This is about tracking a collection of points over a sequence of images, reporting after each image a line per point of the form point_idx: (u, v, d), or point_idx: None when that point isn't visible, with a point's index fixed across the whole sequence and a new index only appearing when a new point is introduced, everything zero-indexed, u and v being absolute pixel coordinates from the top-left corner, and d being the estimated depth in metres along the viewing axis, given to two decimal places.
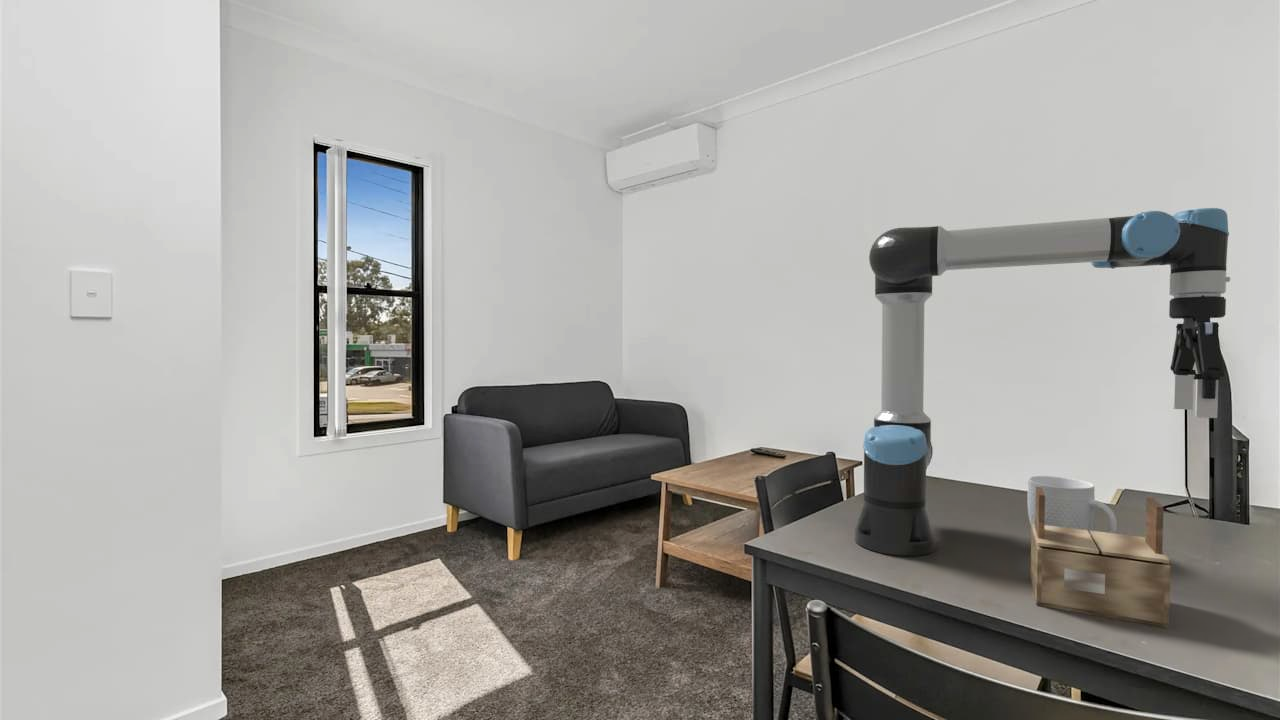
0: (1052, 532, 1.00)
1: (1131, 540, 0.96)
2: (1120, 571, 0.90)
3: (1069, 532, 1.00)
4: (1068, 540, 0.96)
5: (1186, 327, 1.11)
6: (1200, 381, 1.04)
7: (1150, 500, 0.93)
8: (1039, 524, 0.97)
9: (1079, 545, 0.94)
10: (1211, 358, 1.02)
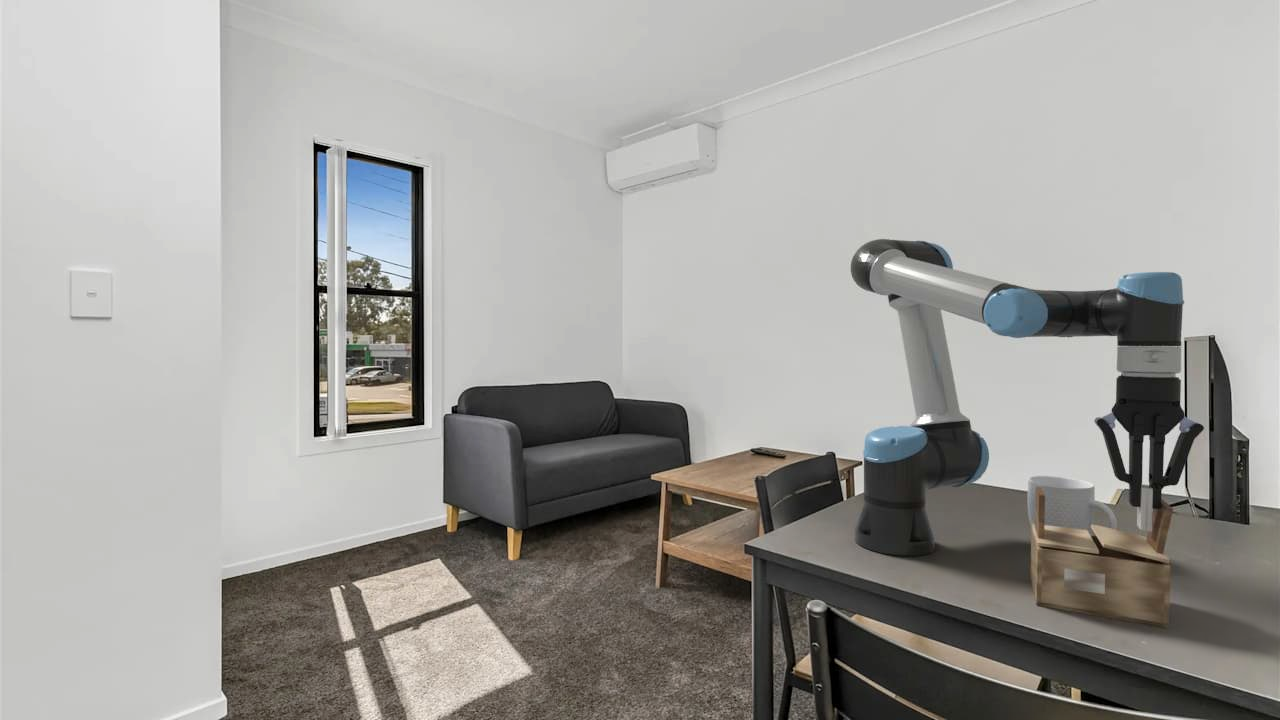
0: (1052, 532, 1.00)
1: (1132, 537, 0.96)
2: (1120, 571, 0.90)
3: (1069, 532, 1.00)
4: (1068, 540, 0.96)
5: None
6: None
7: None
8: (1039, 524, 0.97)
9: (1079, 545, 0.94)
10: (1111, 460, 0.95)
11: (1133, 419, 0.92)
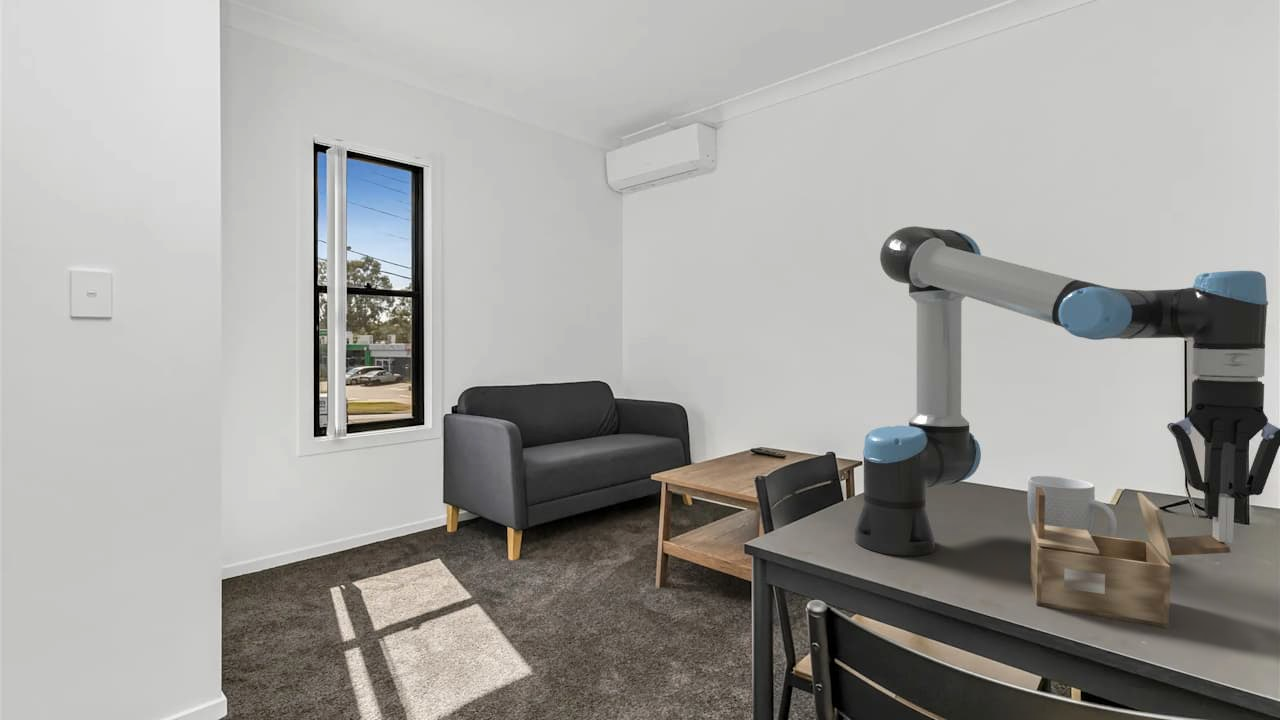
0: (1052, 532, 1.00)
1: None
2: (1120, 571, 0.90)
3: (1069, 532, 1.00)
4: (1068, 540, 0.96)
5: None
6: None
7: None
8: (1039, 524, 0.97)
9: (1079, 545, 0.94)
10: (1185, 468, 0.90)
11: (1211, 426, 0.88)
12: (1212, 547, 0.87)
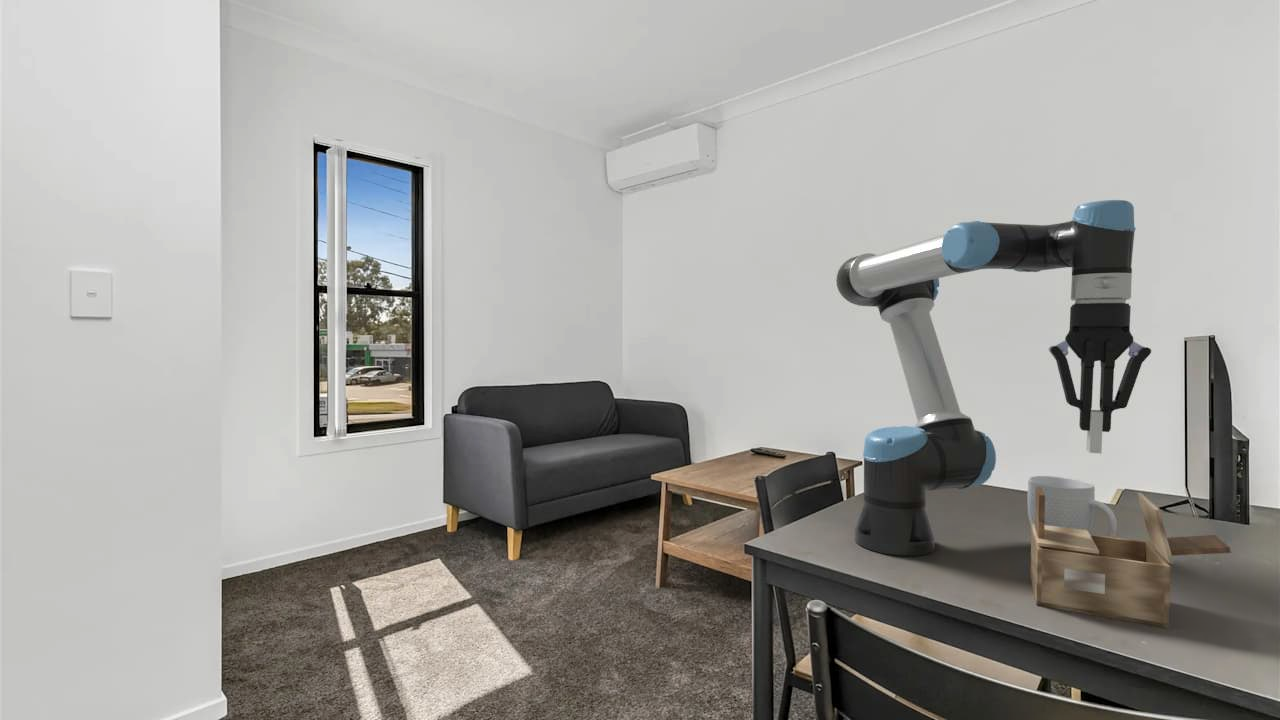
0: (1052, 532, 1.00)
1: None
2: (1120, 571, 0.90)
3: (1069, 532, 1.00)
4: (1068, 540, 0.96)
5: None
6: None
7: (1219, 539, 0.89)
8: (1039, 524, 0.97)
9: (1079, 545, 0.94)
10: (1063, 387, 0.97)
11: (1085, 346, 0.95)
12: (1212, 547, 0.87)
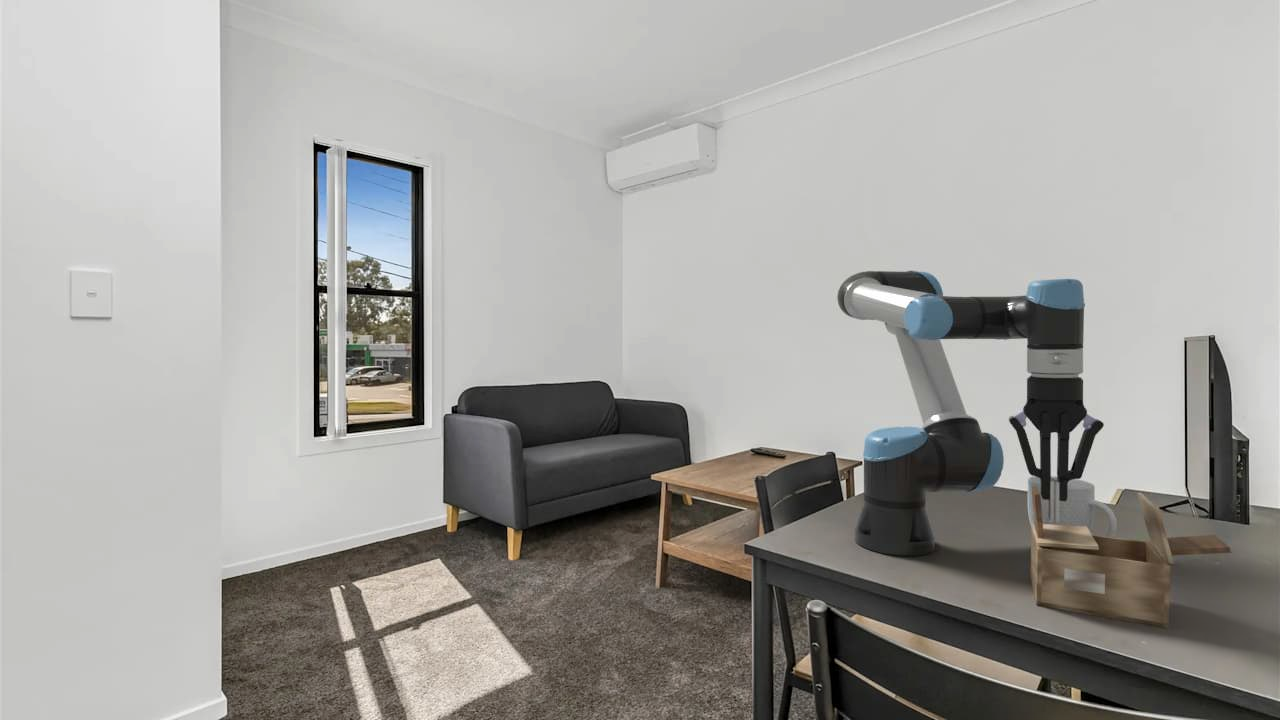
0: (1052, 531, 1.00)
1: None
2: (1120, 571, 0.90)
3: (1069, 529, 1.00)
4: (1068, 538, 0.96)
5: None
6: None
7: (1219, 539, 0.89)
8: (1037, 524, 0.97)
9: (1079, 542, 0.94)
10: None
11: (1041, 418, 0.98)
12: (1212, 547, 0.87)
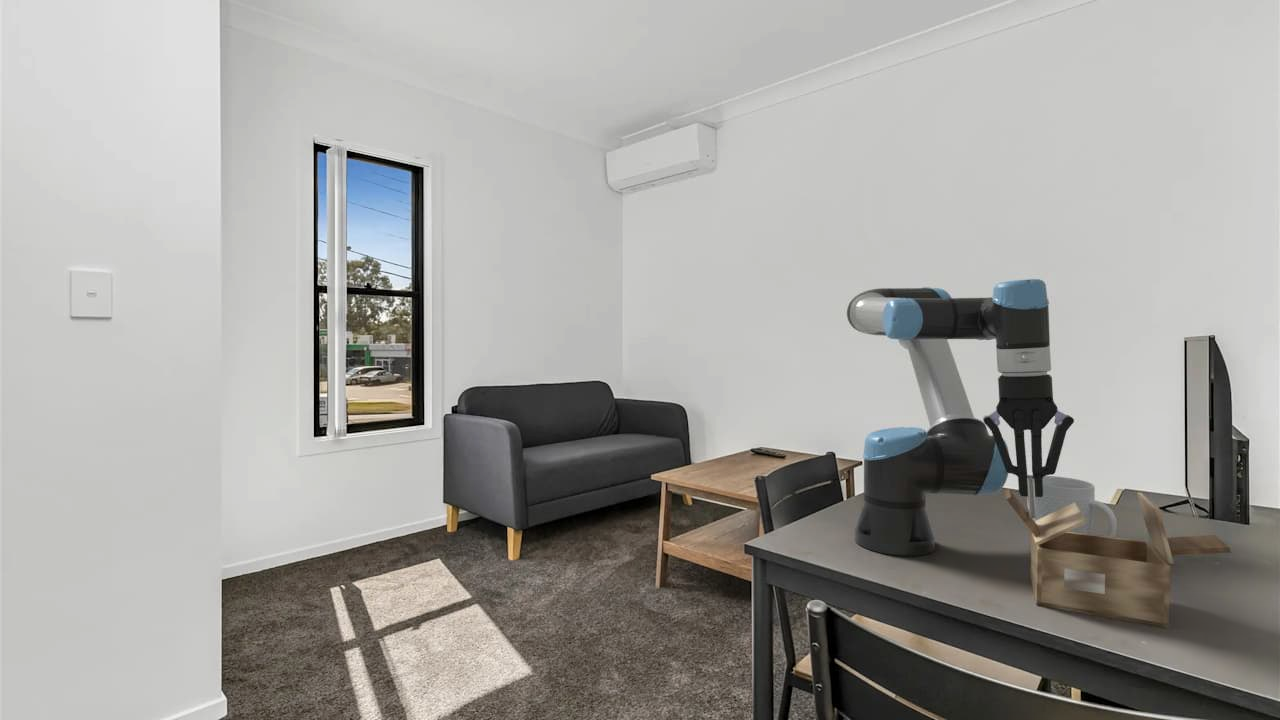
0: (1046, 523, 1.00)
1: None
2: (1120, 571, 0.90)
3: (1060, 513, 1.01)
4: (1060, 523, 0.96)
5: None
6: None
7: (1219, 539, 0.89)
8: (1027, 524, 0.98)
9: (1069, 523, 0.94)
10: None
11: (1013, 416, 1.00)
12: (1212, 547, 0.87)
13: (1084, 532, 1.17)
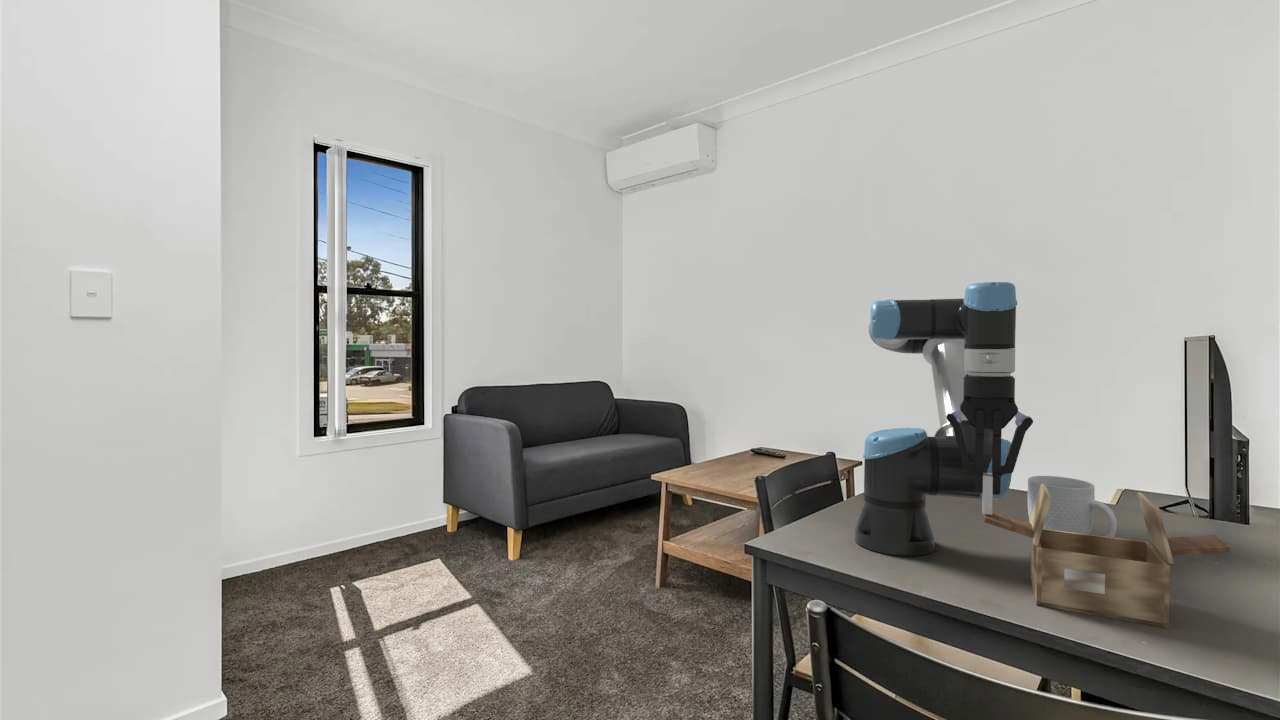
0: (1034, 517, 1.01)
1: None
2: (1120, 571, 0.90)
3: (1038, 500, 1.02)
4: (1039, 512, 0.98)
5: None
6: None
7: (1219, 539, 0.89)
8: (1017, 532, 0.98)
9: (1043, 508, 0.96)
10: None
11: (975, 414, 1.02)
12: (1212, 547, 0.87)
13: (1084, 532, 1.17)
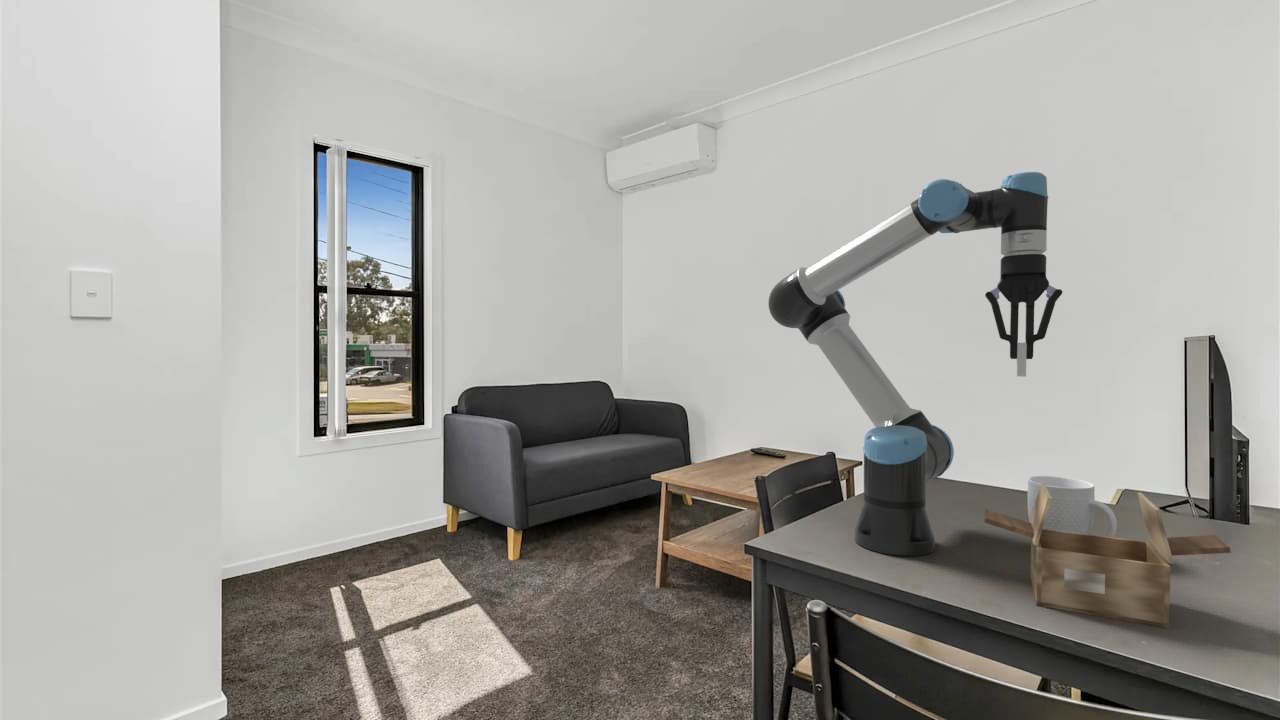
0: (1034, 517, 1.01)
1: None
2: (1120, 571, 0.90)
3: (1038, 500, 1.02)
4: (1039, 512, 0.98)
5: None
6: None
7: (1219, 539, 0.89)
8: (1017, 532, 0.98)
9: (1042, 508, 0.96)
10: None
11: (1011, 290, 1.18)
12: (1212, 547, 0.87)
13: (1084, 532, 1.17)
